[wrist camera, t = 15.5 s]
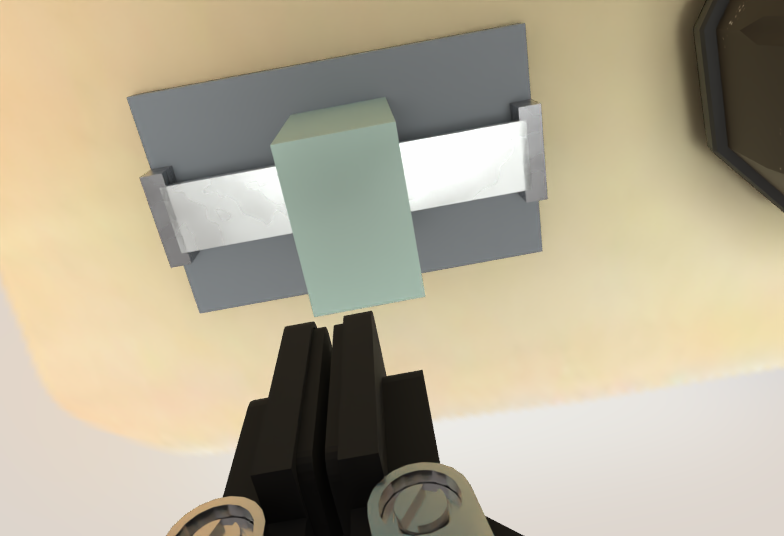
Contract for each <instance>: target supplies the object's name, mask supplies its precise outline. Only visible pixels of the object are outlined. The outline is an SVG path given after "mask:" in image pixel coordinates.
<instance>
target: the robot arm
mask: <svg viewBox="0 0 784 536" xmlns="http://www.w3.org/2000/svg"><path fill="white" fill-rule="evenodd" d="M166 536H523V535H521V534H519V533H517V532H515V531H514V530H512V529H509V528H508V527H506V526H504V525H502V524H500V523H498V522H496V521H494V520H492V519H490V518H488V517H486V516H485V515H484V513H483V511H482V509H481V506H480V504H479V503H478V500H477V498H476V496H475V494H474V491H473V489H472V487H471V485H470V484H469V482H468V481H467V480H466V478H465V477H464V476H463V475H462V474H461V473H459V472H458V471H456V470H455V469H454V468H452V467H449V466H446V465H443V464H440V461H439V457H438V450H437V445H436V440H435V434H434V429H433V424H432V418H431V413H430V408H429V402H428V397H427V391H426V386H425V381H424V375H423V370H419V371H414V372H408V373H402V374H397V375H391V376H386V372H385V367H384V362H383V357H382V353H381V348H380V343H379V339H378V334H377V329H376V324H375V320H374V316H373V312H372V311H368V312H363V313H358V314H352V315H347V316H344V318H343V324H338V325H334V331H333V345H331V341H330V337H329V333H328V330H327V328H326V327H322V328H317V326H316V324H315V322H308V323H303V324H297V325H292V326H286V327H285V328H284V332H283V336H282V341H281V345H280V349H279V354H278V358H277V362H276V366H275V371H274V375H273V379H272V384H271V388H270V392H269V397H268V398H264V399H258V400H253V401H251V402H250V404H249V406H248V409H247V412H246V416H245V419H244V423H243V427H242V430H241V434H240V437H239V441H238V445H237V448H236V452H235V455H234V459H233V463H232V467H231V470H230V473H229V477H228V481H227V484H226V488H225V491H224V495H223V498H218V499H214V500H212V501H209V502H207V503H204V504H202V505H199V506H198V507H196V508H195V509H193V510H192V511H190V512H188V513H187V514H185V515H184V516H183V517H182V518H181V519H180V520H179V521H178V522H177V523H176V524H175V525H174V526H173V527H172V528H171V530H170V531H169V532H168V534H167V535H166Z"/></svg>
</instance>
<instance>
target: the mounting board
mask: <svg viewBox="0 0 784 536" xmlns="http://www.w3.org/2000/svg"><path fill="white" fill-rule="evenodd" d="M382 97H386V100H387V102H388V105H389V107H390V109H391V112H392V114H393V117H394V119H395V122H396V127H397V133H398V139H399V142H401V141H406V140H412V139H417V138H423V137H428V136H433V135H439V134H444V133H450V132H455V131H461V130H466V129H471V128H477V127H482V126H488V125H493V124H499V123H504V122H509V121H511V113H510V103H513V102H518V101H524V100H529V99H531V94H530V81H529V68H528V55H527V42H526V28H525V23H517V24H512V25H507V26H501V27H496V28H491V29H485V30H480V31H474V32H469V33H464V34H458V35H453V36H448V37H442V38H437V39H432V40H426V41H421V42H415V43H410V44H405V45H399V46H394V47H389V48H383V49H378V50H372V51H367V52H362V53H356V54H351V55H346V56H340V57H335V58H330V59H324V60H319V61H313V62H308V63H303V64H297V65H292V66H287V67H281V68H276V69H270V70H265V71H260V72H254V73H249V74H244V75H238V76H233V77H228V78H222V79H217V80H211V81H206V82H201V83H195V84H190V85H185V86H179V87H174V88H168V89H163V90H158V91H152V92H147V93H142V94H136V95H132V96H129V97H127V100H128V103H129V106H130V109H131V112H132V115H133V118H134V121H135V124H136V127H137V130H138V133H139V136H140V139H141V141H142V144H143V147H144V150H145V153H146V156H147V159H148V162H149V165H150V168H151V169H155V168H161V167H166V166H172V167H173V170H174V173H175V177H176V180H177V183H179V182H184V181H189V180H195V179H200V178H206V177H211V176H217V175H222V174H227V173H233V172H238V171H244V170H249V169H254V168H260V167H265V166H271V165H275V162H274V159H273V155H272V151H271V147H270V145H271V143H272V142H273V140H274V139H275V137H276V136H277V134H278V133H279V131H280V130H281V128H282V127H283V125H284V124H285V122H286V121H287V120H288V118H289V117H290V115H292V114H297V113H303V112H308V111H313V110H318V109H324V108H329V107H334V106H340V105H345V104H350V103H355V102H361V101H366V100H371V99H376V98H382ZM411 215H412V221H413V227H414V233H415V239H416V245H417V251H418V256H419V262H420V268H421V273H425V272H431V271H436V270H442V269H447V268H453V267H458V266H464V265H469V264H475V263H480V262H486V261H491V260H497V259H502V258H508V257H513V256H519V255H524V254H530V253H535V252H541V251H542V240H541V226H540V213H539V201H533V202H528V203H526V202H525V201H524V200H523V199H522V198H521V196H520V195H519V194H518V192H515V193H509V194H504V195H498V196H493V197H487V198H482V199H476V200H471V201H465V202H460V203H455V204H449V205H444V206H438V207H433V208H427V209H422V210H416V211H411ZM199 251H200V252H199V254H198V255H197V257H196V258H195V260H194V261H193V263H192V264H189V265H184V268H185V271H186V274H187V277H188V280H189V283H190V286H191V289H192V292H193V295H194V298H195V301H196V304H197V307H198V310H199V312H200V313H205V312H211V311H216V310H222V309H227V308H233V307H238V306H244V305H249V304H255V303H260V302H266V301H271V300H277V299H282V298H288V297H293V296H299V295H304V294H308V291H307V287H306V283H305V279H304V275H303V271H302V267H301V263H300V260H299V256H298V252H297V248H296V244H295V240H294V236H293V233H291V234H285V235H280V236H274V237H269V238H263V239H258V240H252V241H247V242H241V243H236V244H230V245H225V246H219V247H214V248H209V249H203V250H199Z"/></svg>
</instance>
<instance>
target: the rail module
mask: <svg viewBox="0 0 784 536" xmlns="http://www.w3.org/2000/svg"><path fill="white" fill-rule="evenodd" d="M270 147H271V151H272V155H273V159H274V162H275V166H276V170H277V174H278V178H279V182H280V186H281V190H282V194H283V197H284V201H285V205H286V209H287V213H288V217H289V221H290V225H291V228H292V232H293V236H294V240H295V244H296V248H297V252H298V256H299V260H300V263H301V267H302V271H303V275H304V279H305V283H306V287H307V291H308V294H309V298H310V302H311V306H312V310H313V314H314V317H318V316H323V315H328V314H334V313H339V312H345V311H350V310H355V309H361V308H366V307H372V306H377V305H383V304H388V303H393V302H399V301H404V300H410V299H415V298H420V297H425V292H424V286H423V280H422V274H421V268H420V262H419V256H418V251H417V245H416V239H415V233H414V227H413V221H412V215H411V210H410V204H409V198H408V192H407V186H406V180H405V174H404V168H403V163H402V157H401V151H400V145H399V139H398V133H397V127H396V122H395V119H394V117H393V114H392V112H391V109H390V107H389V105H388V102H387V100H386V97H382V98H376V99H371V100H366V101H361V102H355V103H350V104H345V105H340V106H334V107H329V108H324V109H318V110H313V111H308V112H303V113H297V114H292V115H290V117H289V118H288V120H287V121H286V122H285V124H284V125H283V127H282V128H281V130H280V131H279V133H278V134H277V136H276V137H275V139H274V140H273V142H272V143H271V145H270Z"/></svg>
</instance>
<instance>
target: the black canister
mask: <svg viewBox="0 0 784 536" xmlns="http://www.w3.org/2000/svg"><path fill="white" fill-rule="evenodd" d="M693 32H694V41H695V49H696V58H697V66H698V75H699V83H700V92H701V100H702V109H703V117H704V126H705V129H706V137H707V146H708V147H709V148H710V149H711V150H712V151H713V152H714V153H715V154H716V155H717V156H718V157H719V158H721V159H722V160H723V161H724V162H725V163H726V164H728V165H729V166H730V167H731V168H732V169H734V170H735V171H736V172H737V173H738V174H739V175H741V176H742V177H743V178H744V179H745V180H746V181H748V182H749V183H750V184H751V185H752V186H753V187H755V188H756V189H757V190H758V191H759V192H760V193H762V194H763V195H764V196H765V197H766V198H767V199H769V200H770V201H771V202H772V203H773V204H774V205H776V206H777V207H778V208H779V209H780V210H781V211H783V212H784V0H706V2H705V4H704V6H703V8H702V11H701V13H700V15H699V17H698V19H697V21H696V23H695V26H694V28H693Z"/></svg>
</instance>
